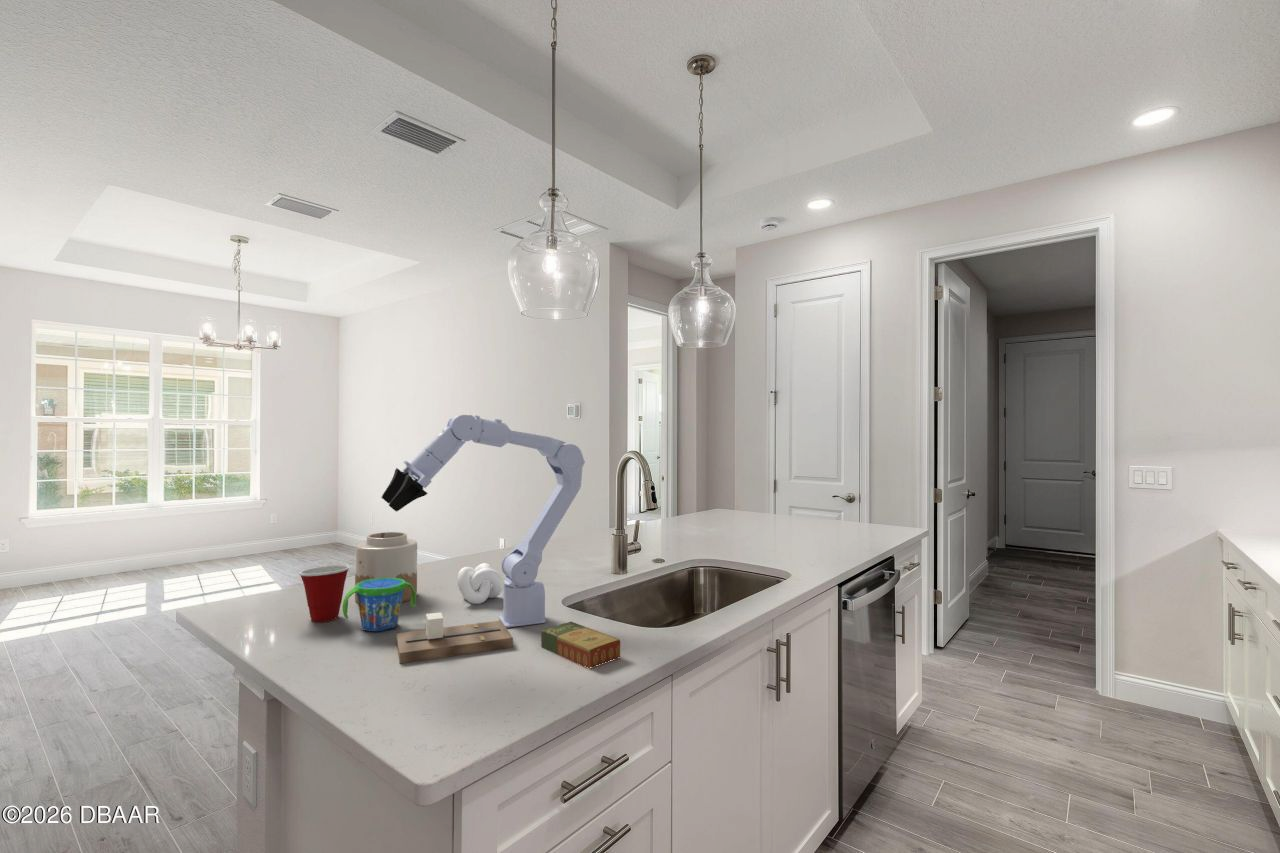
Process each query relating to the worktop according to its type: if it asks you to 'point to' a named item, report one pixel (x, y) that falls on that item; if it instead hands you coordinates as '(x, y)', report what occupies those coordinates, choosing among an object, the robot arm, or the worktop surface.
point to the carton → (580, 644)
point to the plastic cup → (324, 591)
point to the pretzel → (479, 583)
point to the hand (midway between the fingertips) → (388, 504)
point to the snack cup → (379, 602)
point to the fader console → (453, 641)
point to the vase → (387, 560)
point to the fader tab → (434, 625)
